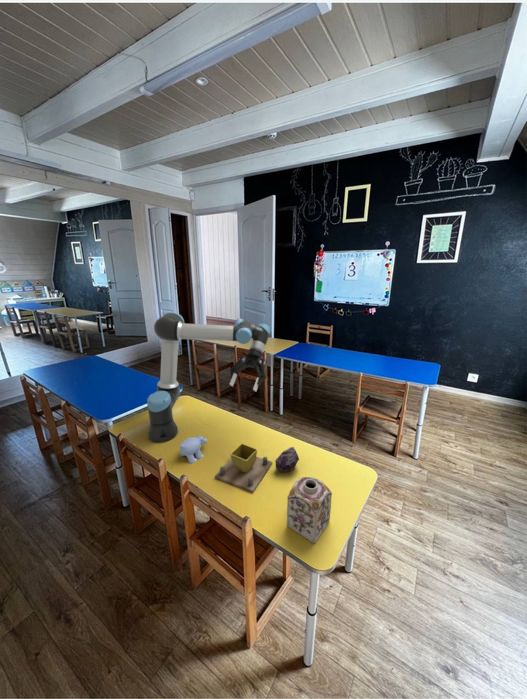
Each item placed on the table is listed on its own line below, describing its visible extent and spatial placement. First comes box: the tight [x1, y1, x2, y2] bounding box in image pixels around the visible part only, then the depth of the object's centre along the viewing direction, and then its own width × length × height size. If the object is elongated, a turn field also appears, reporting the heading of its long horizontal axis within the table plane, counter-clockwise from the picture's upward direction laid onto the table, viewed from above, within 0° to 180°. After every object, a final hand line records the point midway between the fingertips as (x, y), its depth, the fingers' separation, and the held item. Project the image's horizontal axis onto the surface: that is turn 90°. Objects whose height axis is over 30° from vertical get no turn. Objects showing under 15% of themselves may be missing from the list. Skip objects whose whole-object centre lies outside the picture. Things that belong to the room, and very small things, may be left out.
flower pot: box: [230, 443, 258, 473], centre depth 126 cm, size 9×9×9 cm
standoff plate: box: [214, 456, 273, 494], centre depth 127 cm, size 19×19×4 cm
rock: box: [275, 446, 300, 473], centre depth 128 cm, size 12×9×10 cm
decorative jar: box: [286, 476, 333, 544], centre depth 99 cm, size 12×12×18 cm
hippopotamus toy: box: [179, 435, 208, 464], centre depth 137 cm, size 11×15×10 cm
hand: (242, 388), depth 141 cm, fingers open, 13 cm apart
